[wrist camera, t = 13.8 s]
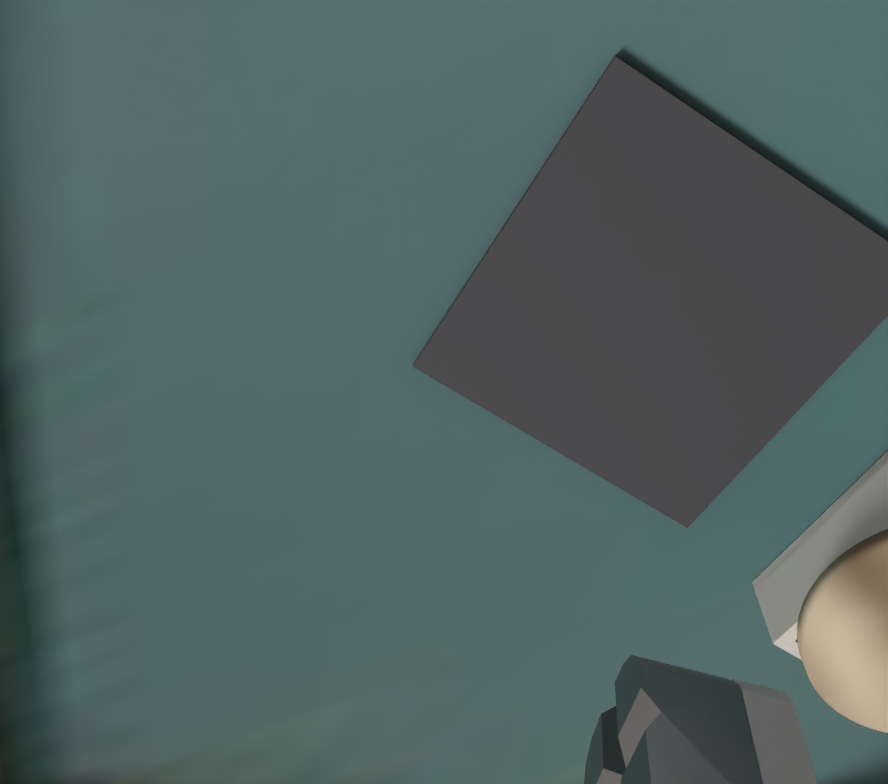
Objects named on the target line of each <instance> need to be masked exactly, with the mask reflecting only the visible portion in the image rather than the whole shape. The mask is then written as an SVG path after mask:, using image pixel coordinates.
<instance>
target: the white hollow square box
mask: <svg viewBox="0 0 888 784" xmlns="http://www.w3.org/2000/svg"><path fill="white" fill-rule="evenodd" d="M886 529H888V451H887V452H886V453H885V454H884V455H883V456H882V457H881V458H880V459H879V460H878V461H877V462H876V463H875V464H874V465H873V466H872V467H871V468H869V469H868V470H867V471H866V472H865V473H864V474H863V475H862V476H861V477H860V478H859V479H858V480H857V481H856V482H855V483H854V484H853V485H852V486H851V487H850V488H849V489H848V490H847V491H846V492H845V493H844V494H843V495H842V496H841V497H840V498H838V499H837V500H836V501H835V502H834V503H833V504H832V505H831V506H830V507H829V508H828V509H827V510H826V511H825V512H824V513H823V514H822V515H821V516H820V517H819V518H818V519H817V520H816V521H815V522H814V523H813V524H812V525H811V526H810V527H808V528H807V529H806V530H805V531H804V532H803V533H802V534H801V535H800V536H799V537H798V538H797V539H796V540H795V541H794V542H793V543H792V544H791V545H790V546H789V547H788V548H787V549H786V550H785V551H784V552H783V553H782V554H781V555H780V556H779V557H777V558H776V559H775V560H774V561H773V562H772V563H771V564H770V565H769V566H768V567H767V568H766V569H765V570H764V571H763V572H762V573H761V574H760V575H759V576H758V577H757V578H756V579H755V580H754V581H753V582H752V583H753V586H754V589H755V592H756V595H757V598H758V601H759V604H760V607H761V610H762V613H763V616H764V619H765V622H766V624H767V627H768V630H769V633H770V636H771V639H772V642H773V644H775V645H776V646H778V647H780V648H782V649H783V650H785V651H787V652H789V653H790V654H792V655H794V656H796V657H797V658H799V659H801V656H800V653H799V648H798V643H797V623H798V617H799V613H800V610H801V607H802V604H803V601H804V599H805V597H806V595H807V593H808V592H809V590H810V588H811V587H812V585H813V584H814V582H815V581H816V580H817V578H818V577H819V575H820V574H821V573H822V572H823V571H824V570H825V569H826V568H827V567H828V566H829V565H830V564H831V563H832V562H833V561H834V560H835V559H837V558H838V557H839V556H840V555H841V554H843V553H844V552H845V551H847V550H848V549H850V548H851V547H853V546H854V545H856V544H857V543H859V542H861V541H863V540H864V539H866V538H868V537H870V536H872V535H874V534H876V533H878V532H881V531H883V530H886ZM801 660H802V659H801Z"/></svg>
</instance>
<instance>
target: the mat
mask: <svg viewBox="0 0 888 784" xmlns="http://www.w3.org/2000/svg"><path fill="white" fill-rule="evenodd" d="M887 315H888V241H887V240H885V239H884V238H883V237H881V236H880V235H878V234H877V233H875V232H874V231H872V230H871V229H869V228H868V227H866V226H865V225H863V224H862V223H860V222H859V221H858V220H856V219H855V218H853V217H852V216H850V215H849V214H847V213H846V212H844V211H843V210H841V209H840V208H838V207H837V206H835V205H834V204H833V203H831V202H830V201H828V200H827V199H825V198H824V197H822V196H821V195H819V194H818V193H816V192H815V191H813V190H812V189H810V188H809V187H807V186H806V185H805V184H803V183H802V182H800V181H799V180H797V179H796V178H794V177H793V176H791V175H790V174H788V173H787V172H785V171H784V170H782V169H781V168H780V167H778V166H777V165H775V164H774V163H772V162H771V161H769V160H768V159H766V158H765V157H763V156H762V155H760V154H759V153H757V152H756V151H755V150H753V149H752V148H750V147H749V146H747V145H746V144H744V143H743V142H741V141H740V140H738V139H737V138H735V137H734V136H732V135H731V134H729V133H728V132H727V131H725V130H724V129H722V128H721V127H719V126H718V125H716V124H715V123H713V122H712V121H710V120H709V119H707V118H706V117H704V116H703V115H702V114H700V113H699V112H697V111H696V110H694V109H693V108H691V107H690V106H688V105H687V104H685V103H684V102H682V101H681V100H679V99H678V98H677V97H675V96H674V95H672V94H671V93H669V92H668V91H666V90H665V89H663V88H662V87H660V86H659V85H657V84H656V83H654V82H653V81H651V80H650V79H649V78H647V77H646V76H644V75H643V74H641V73H640V72H638V71H637V70H635V69H634V68H632V67H631V66H629V65H628V64H626V63H625V62H624V61H622V60H621V59H619V58H618V57H616V56H614V58H613V59H612V61H611V62H610V64H609V65H608V67H607V69H606V70H605V72H604V73H603V75H602V76H601V78H600V79H599V81H598V82H597V84H596V85H595V87H594V88H593V90H592V91H591V93H590V94H589V96H588V98H587V99H586V101H585V102H584V104H583V105H582V107H581V108H580V110H579V111H578V113H577V114H576V116H575V117H574V119H573V120H572V122H571V124H570V125H569V127H568V128H567V130H566V131H565V133H564V134H563V136H562V137H561V139H560V140H559V142H558V143H557V145H556V146H555V148H554V149H553V151H552V153H551V154H550V156H549V157H548V159H547V160H546V162H545V163H544V165H543V166H542V168H541V169H540V171H539V172H538V174H537V175H536V177H535V179H534V180H533V182H532V183H531V185H530V186H529V188H528V189H527V191H526V192H525V194H524V195H523V197H522V198H521V200H520V201H519V203H518V205H517V206H516V208H515V209H514V211H513V212H512V214H511V215H510V217H509V218H508V220H507V221H506V223H505V224H504V226H503V227H502V229H501V230H500V232H499V234H498V235H497V237H496V238H495V240H494V241H493V243H492V244H491V246H490V247H489V249H488V250H487V252H486V253H485V255H484V256H483V258H482V260H481V261H480V263H479V264H478V266H477V267H476V269H475V270H474V272H473V273H472V275H471V276H470V278H469V279H468V281H467V282H466V284H465V286H464V287H463V289H462V290H461V292H460V293H459V295H458V296H457V298H456V299H455V301H454V302H453V304H452V305H451V307H450V308H449V310H448V311H447V313H446V315H445V316H444V318H443V319H442V321H441V322H440V324H439V325H438V327H437V328H436V330H435V331H434V333H433V334H432V336H431V337H430V339H429V341H428V342H427V344H426V345H425V347H424V348H423V350H422V351H421V353H420V354H419V356H418V357H417V359H416V360H415V362H414V364H413V367H415V368H416V369H418V370H420V371H421V372H423V373H425V374H427V375H428V376H430V377H432V378H433V379H435V380H437V381H438V382H440V383H442V384H444V385H445V386H447V387H449V388H450V389H452V390H454V391H455V392H457V393H459V394H461V395H462V396H464V397H466V398H467V399H469V400H471V401H473V402H474V403H476V404H478V405H479V406H481V407H483V408H484V409H486V410H488V411H490V412H491V413H493V414H495V415H496V416H498V417H500V418H501V419H503V420H505V421H507V422H508V423H510V424H512V425H513V426H515V427H517V428H518V429H520V430H522V431H524V432H525V433H527V434H529V435H530V436H532V437H534V438H536V439H537V440H539V441H541V442H542V443H544V444H546V445H547V446H549V447H551V448H553V449H554V450H556V451H558V452H559V453H561V454H563V455H564V456H566V457H568V458H570V459H571V460H573V461H575V462H576V463H578V464H580V465H582V466H583V467H585V468H587V469H588V470H590V471H592V472H593V473H595V474H597V475H599V476H600V477H602V478H604V479H605V480H607V481H609V482H610V483H612V484H614V485H616V486H617V487H619V488H621V489H622V490H624V491H626V492H627V493H629V494H631V495H633V496H634V497H636V498H638V499H639V500H641V501H643V502H645V503H646V504H648V505H650V506H651V507H653V508H655V509H656V510H658V511H660V512H662V513H663V514H665V515H667V516H668V517H670V518H672V519H673V520H675V521H677V522H679V523H680V524H682V525H684V526H685V527H687V528H688V526H689V525H690V524H691V523H692V522H693V521H694V520H695V519H696V518H697V517H698V516H699V515H700V514H701V513H702V512H703V511H704V510H705V508H706V507H707V506H708V505H709V504H710V503H711V502H712V501H713V500H714V499H715V498H716V497H717V496H718V495H719V494H720V493H721V491H722V490H723V489H724V488H725V487H726V486H727V485H728V484H729V483H730V482H731V481H732V480H733V479H734V478H735V477H736V476H737V475H738V473H739V472H740V471H741V470H742V469H743V468H744V467H745V466H746V465H747V464H748V463H749V462H750V461H751V460H752V459H753V458H754V456H755V455H756V454H757V453H758V452H759V451H760V450H761V449H762V448H763V447H764V446H765V445H766V444H767V443H768V442H769V441H770V440H771V438H772V437H773V436H774V435H775V434H776V433H777V432H778V431H779V430H780V429H781V428H782V427H783V426H784V425H785V424H786V423H787V421H788V420H789V419H790V418H791V417H792V416H793V415H794V414H795V413H796V412H797V411H798V410H799V409H800V408H801V407H802V406H803V404H804V403H805V402H806V401H807V400H808V399H809V398H810V397H811V396H812V395H813V394H814V393H815V392H816V391H817V390H818V389H819V388H820V386H821V385H822V384H823V383H824V382H825V381H826V380H827V379H828V378H829V377H830V376H831V375H832V374H833V373H834V372H835V371H836V369H837V368H838V367H839V366H840V365H841V364H842V363H843V362H844V361H845V360H846V359H847V358H848V357H849V356H850V355H851V354H852V353H853V351H854V350H855V349H856V348H857V347H858V346H859V345H860V344H861V343H862V342H863V341H864V340H865V339H866V338H867V337H868V336H869V334H870V333H871V332H872V331H873V330H874V329H875V328H876V327H877V326H878V325H879V324H880V323H881V322H882V321H883V320H884V319H885V318H886V316H887Z"/></svg>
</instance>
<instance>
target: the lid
mask: <svg viewBox="0 0 888 784" xmlns="http://www.w3.org/2000/svg"><path fill="white" fill-rule="evenodd" d="M797 643H798V648H799V653H800V656H801V659H802V661H803V664H804V667H805V669H806V672H807V674H808V677H809V679H810V681H811V683H812V685H813V686H814V688H815V689H816V691H817V692H818V694H819V695H820V696H821V697H822V698H823V699H824V700H825V702H826V703H828V704H829V705H830V706H831V707H832V708H834V709H835V710H836V711H837V712H839V713H840V714H842V715H844V716H845V717H847V718H848V719H850V720H852V721H854V722H857V723H859V724H861V725H863V726H866V727H869V728H872V729H875V730H878V731H882V732H886V733H888V529H886V530H883V531H881V532H878V533H876V534H874V535H872V536H870V537H868V538H866V539H864V540H863V541H861V542H859V543H857V544H856V545H854V546H853V547H851V548H850V549H848V550H847V551H845V552H844V553H843V554H841V555H840V556H839V557H838V558H837V559H835V560H834V561H833V562H832V563H831V564H830V565H829V566H828V567H827V568H826V569H825V570H824V571H823V572H822V573H821V574H820V575H819V577H818V578H817V580H816V581H815V582H814V584H813V585H812V587H811V588H810V590H809V592H808V593H807V595H806V597H805V599H804V601H803V604H802V607H801V610H800V613H799V617H798V623H797Z"/></svg>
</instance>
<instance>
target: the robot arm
mask: <svg viewBox="0 0 888 784" xmlns="http://www.w3.org/2000/svg"><path fill="white" fill-rule="evenodd" d="M615 693H616V706H615V707H613V708H611V709H609V710H607V711H605V712H603V713H601V715H600V718H599V721H598V723H597V726H596V728H595V731H594V733H593V736H592V739H591V743H590V748H589V752H588V757H587V761H586V768H585V780H584V784H818V782H817V779H816V776H815V773H814V769H813V766H812V763H811V760H810V756H809V753H808V750H807V747H806V744H805V740H804V737H803V734H802V731H801V728H800V724H799V721H798V718H797V715H796V711H795V708H794V705H793V702H792V700H791V699H790V698H789V696H788V695H787V694H786V693H785V692H784V691H780V690H776V689H772V688H768V687H763V686H759V685H755V684H751V683H747V682H742V681H738V680H734V679H733V680H731V681H730V680H729V679H727V678H723V677H719V676H715V675H710V674H706V673H702V672H698V671H694V670H690V669H686V668H682V667H678V666H674V665H670V664H665V663H661V662H657V661H653V660H649V659H645V658H641V657H637V656H633V655H631V656H630V657H629V658H628V659H627V660H626V662H625V663H624V664H623V666H622V668H621V670H620V672H619V675H618V677H617V679H616V681H615Z"/></svg>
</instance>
